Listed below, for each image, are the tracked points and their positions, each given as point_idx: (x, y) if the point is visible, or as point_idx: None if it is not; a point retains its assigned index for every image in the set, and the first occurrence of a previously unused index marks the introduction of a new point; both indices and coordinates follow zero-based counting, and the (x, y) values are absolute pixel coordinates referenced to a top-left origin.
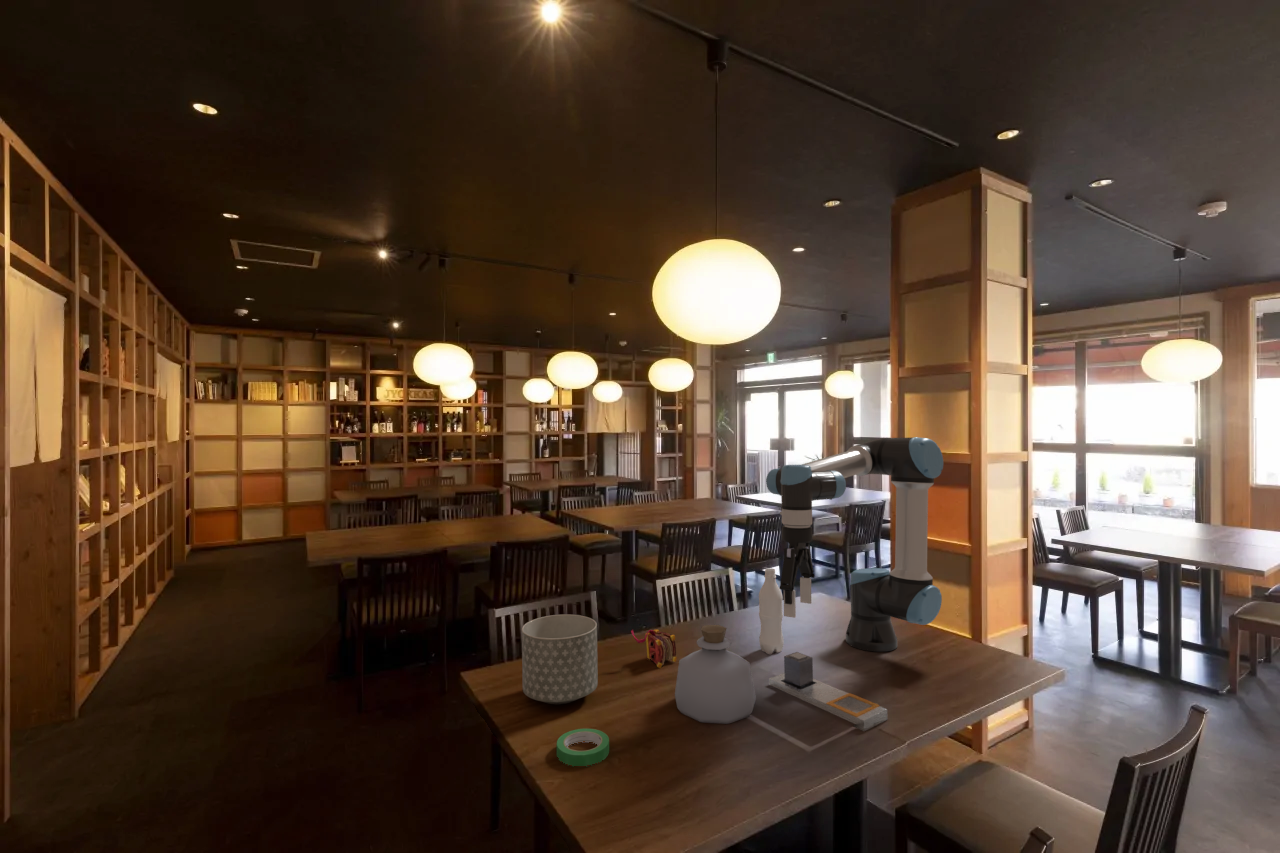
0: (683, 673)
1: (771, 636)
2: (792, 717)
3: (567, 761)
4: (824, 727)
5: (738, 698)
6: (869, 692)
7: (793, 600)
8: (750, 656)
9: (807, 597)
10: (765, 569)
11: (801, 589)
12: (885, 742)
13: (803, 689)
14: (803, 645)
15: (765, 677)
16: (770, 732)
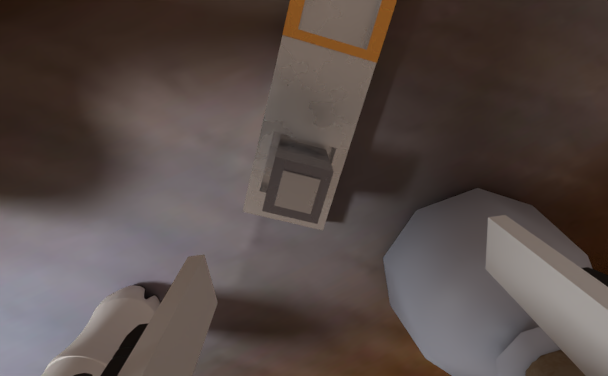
0: None
1: (135, 326)
2: (427, 119)
3: None
4: (435, 40)
5: (527, 215)
6: (186, 18)
7: (578, 274)
8: None
9: (200, 290)
10: None
11: (195, 355)
12: None
13: (331, 142)
14: (41, 267)
15: (277, 250)
16: (513, 126)
